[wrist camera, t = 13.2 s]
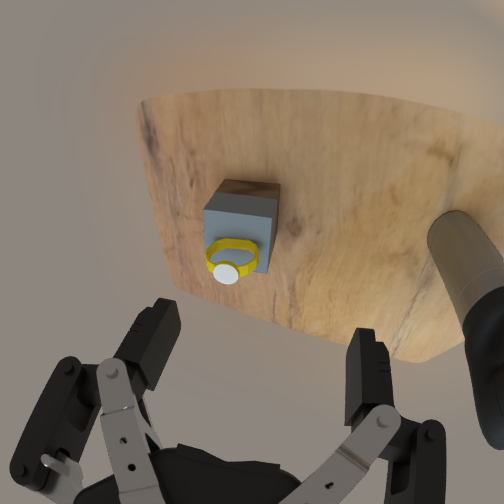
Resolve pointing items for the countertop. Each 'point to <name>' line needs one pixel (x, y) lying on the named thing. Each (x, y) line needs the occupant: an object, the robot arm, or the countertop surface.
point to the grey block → (240, 226)
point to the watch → (227, 269)
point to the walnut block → (253, 192)
